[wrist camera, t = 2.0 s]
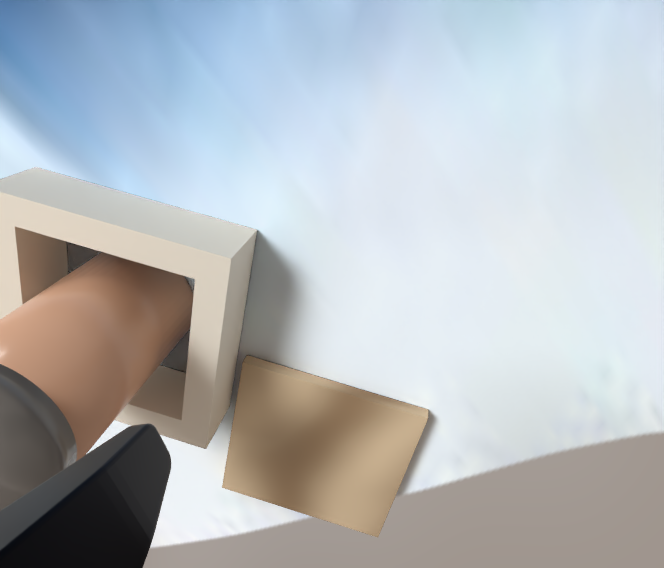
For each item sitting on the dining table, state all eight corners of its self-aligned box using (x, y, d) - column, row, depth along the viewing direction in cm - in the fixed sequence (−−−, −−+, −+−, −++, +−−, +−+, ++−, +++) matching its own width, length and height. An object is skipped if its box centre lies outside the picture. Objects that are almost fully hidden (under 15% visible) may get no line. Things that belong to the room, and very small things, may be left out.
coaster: (428, 409, 24) (428, 418, 23) (379, 527, 28) (377, 537, 27) (246, 355, 24) (242, 362, 24) (226, 479, 29) (222, 487, 28)
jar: (200, 262, 22) (45, 413, 14) (190, 357, 25) (56, 535, 16) (87, 230, 23) (-133, 357, 14) (90, 326, 25) (-95, 484, 17)
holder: (257, 229, 21) (231, 258, 18) (229, 406, 26) (205, 449, 23) (35, 166, 22) (-20, 186, 19) (49, 350, 27) (6, 386, 24)
